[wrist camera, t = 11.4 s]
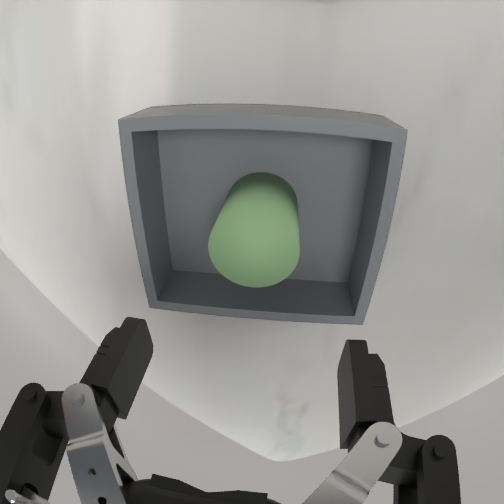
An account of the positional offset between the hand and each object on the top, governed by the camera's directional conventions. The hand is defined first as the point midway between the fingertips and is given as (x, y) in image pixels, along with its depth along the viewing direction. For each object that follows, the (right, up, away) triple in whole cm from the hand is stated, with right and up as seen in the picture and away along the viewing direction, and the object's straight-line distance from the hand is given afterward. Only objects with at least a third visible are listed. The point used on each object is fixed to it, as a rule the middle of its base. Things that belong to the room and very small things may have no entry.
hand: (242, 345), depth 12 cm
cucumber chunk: (+1, +7, +10) cm, 13 cm away
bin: (+1, +7, +11) cm, 14 cm away
